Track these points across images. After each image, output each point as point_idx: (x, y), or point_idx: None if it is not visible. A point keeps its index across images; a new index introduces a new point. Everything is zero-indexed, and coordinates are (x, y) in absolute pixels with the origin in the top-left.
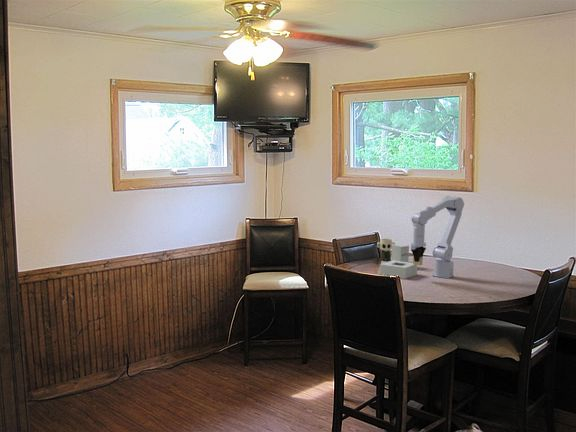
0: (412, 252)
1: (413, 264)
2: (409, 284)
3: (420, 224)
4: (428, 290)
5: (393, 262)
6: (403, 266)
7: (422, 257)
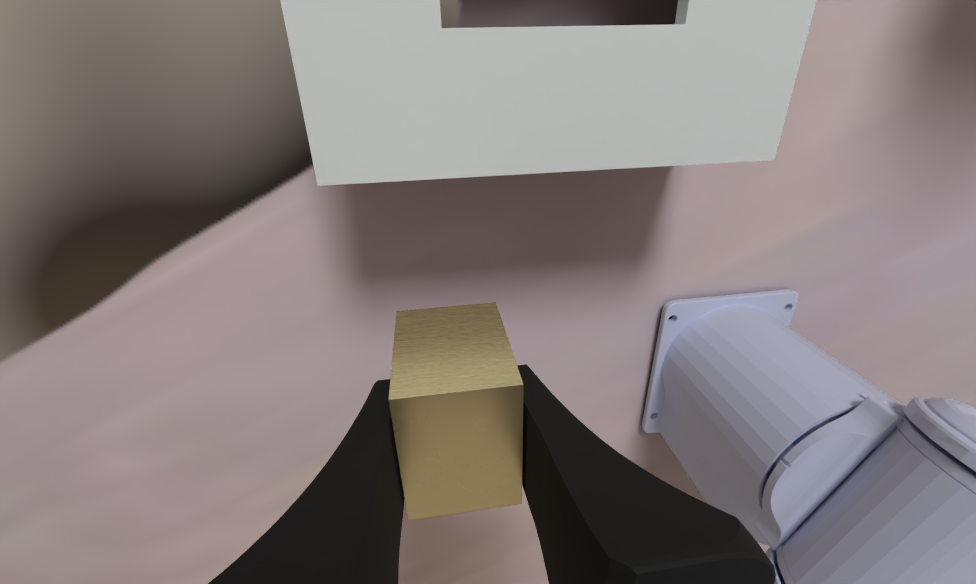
0: (263, 540)
1: (678, 146)
2: (147, 328)
3: None
4: (120, 526)
5: None
6: (403, 91)
7: (512, 498)
